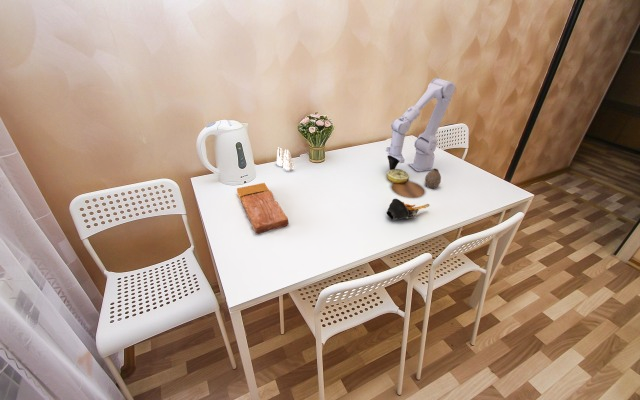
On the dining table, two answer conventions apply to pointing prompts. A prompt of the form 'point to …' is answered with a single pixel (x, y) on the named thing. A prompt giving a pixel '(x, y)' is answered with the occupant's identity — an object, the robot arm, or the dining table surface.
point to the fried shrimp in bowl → (402, 210)
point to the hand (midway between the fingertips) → (392, 169)
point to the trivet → (408, 189)
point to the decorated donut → (397, 176)
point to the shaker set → (284, 159)
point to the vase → (433, 178)
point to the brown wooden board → (261, 208)
